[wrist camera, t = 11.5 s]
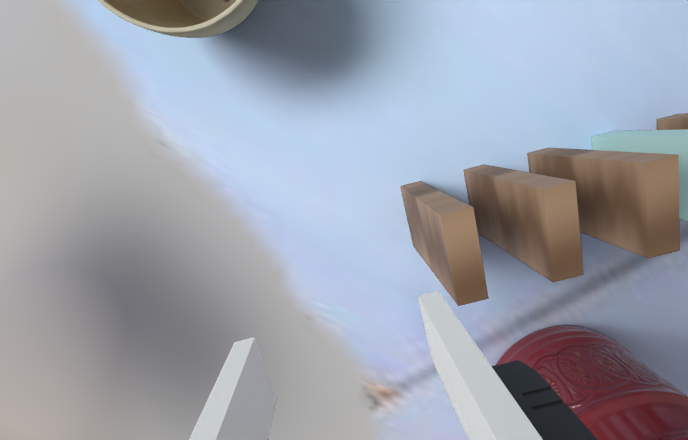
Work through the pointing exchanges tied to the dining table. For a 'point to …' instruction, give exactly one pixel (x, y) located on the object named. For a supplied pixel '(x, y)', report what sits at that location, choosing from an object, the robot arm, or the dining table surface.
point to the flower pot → (183, 15)
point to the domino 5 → (673, 122)
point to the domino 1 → (446, 240)
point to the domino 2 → (528, 218)
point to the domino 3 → (620, 195)
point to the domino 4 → (652, 151)
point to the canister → (604, 384)
